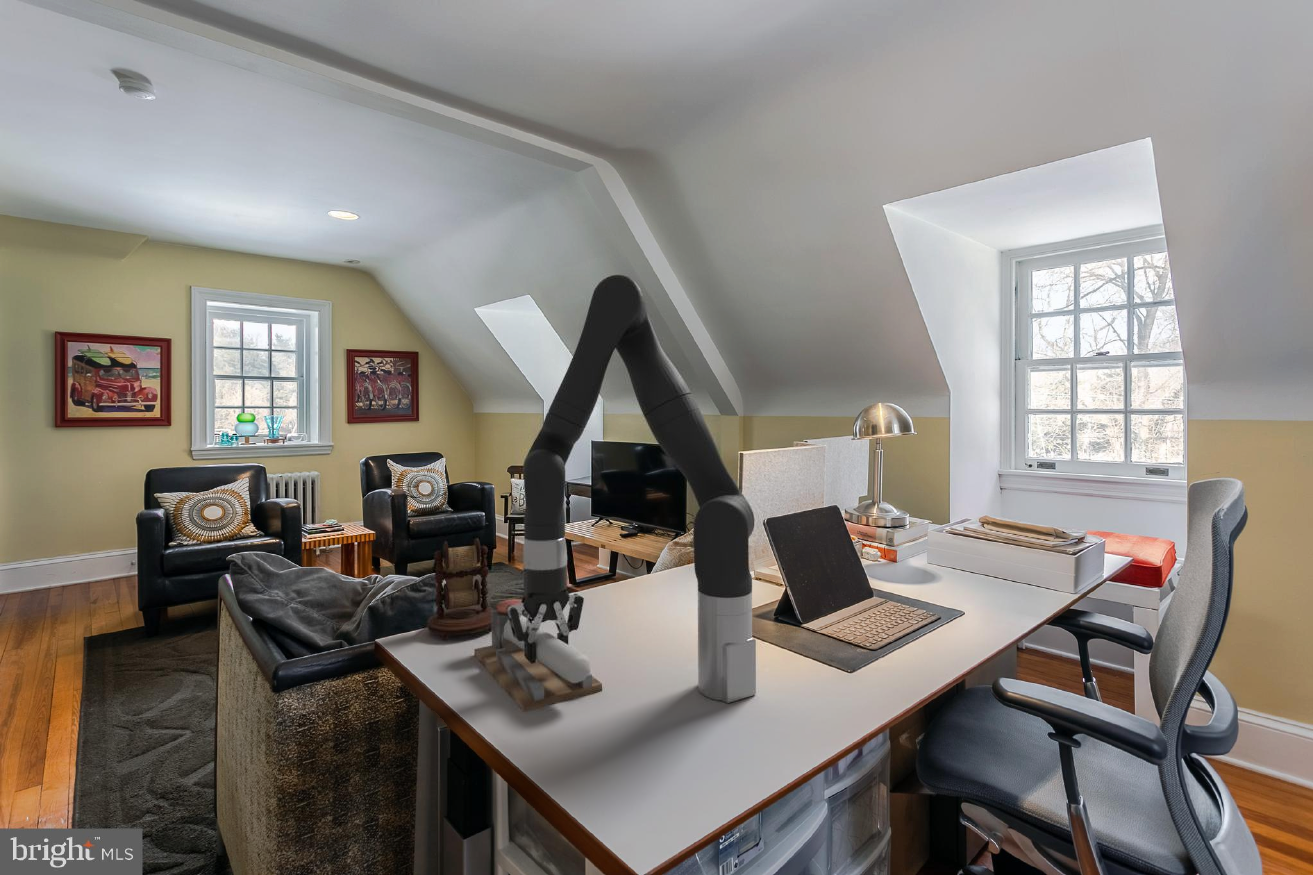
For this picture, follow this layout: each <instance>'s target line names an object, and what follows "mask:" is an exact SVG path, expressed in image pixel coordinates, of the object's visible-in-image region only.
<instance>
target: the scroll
mask: <svg viewBox="0 0 1313 875" xmlns="http://www.w3.org/2000/svg"><path fill="white" fill-rule="evenodd" d="M473 541H474V542H473V545H468V546H458V547H457V546H456V547H449V545H448V542H447V541H446V540H445V541H444V542H443V543H442V550H437V551H435V552H434V553H433V554H434V556H433V557H434V559H435V560H434V561H435V563H436V565H435V573H434V581H435V583H436V584H437V585H436V588H435V592H436V594H435V596H434V599H435V601H436V604H435V605H437V607H436V612H435V614H434V615H433V616H431V617H430V618H429V619H428V620H427V625H426V626H427V630H428V631H429V632H430V633H432V634H437V635H441V637H442V640H443V641H444V642H445V641H447V639H448V636H459V635H460V636H463V635H470V634H474V633H475V634H476V633H479V632H482V631H486V630H487V633H489V632H491V633H492V625H491V611H492V610H491V609H490V608H488V607H489V602H488V600H487V599H488V597H489V596H488V594H489V590H490V589H489V588H488V587H487V586H488V581H487V578H488V575H489V573H490V572H489V567H488V561H487V557H488V555H487V554H488V552H489V550H488V547H487V546H486V545H482V546H481V543H480V540H479V539H478V537H476V538H475V539H474V540H473ZM442 563H443V564H444V567H445V573H444V572H443V571H444V570H443V569H444V567H443V564H442ZM478 564H480V567H479V568H478V570H477V569H475V568H476V567H477V565H478ZM477 575H479V576H480V578H481V580H480V581H479V580H478V579H475V580H474V577H475V576H477ZM444 581H445V583H444ZM443 583H444V584H443Z"/></svg>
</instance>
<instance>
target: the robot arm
mask: <svg viewBox="0 0 1313 875" xmlns="http://www.w3.org/2000/svg"><path fill="white" fill-rule="evenodd" d="M584 321H585V322H584V324H583V328H582V332H581V334H580V337H579V339H578V343H577V346H576V348H575V351H574V353H573V356H572V357H571V360H570V362H569V365H568V368H567V369H566V373H565V375H564V376H563V378H562V380H561V382H560V385H559V387H558V388H557V389H558V390H557V391H556V393H555V395H554V398H553V399H552V402H551V403H550V406H549V409H548V411H547V412H546V415H545V418H544V421H543V423H542V424H543V425H542V427H541V429H540V430H539V432H538V434H537V435H536V437H535V438H534V442H533V443H532V445H531V446H530V449H529V451H528V452H527V455H526V457H525V458H524V462H523V466H522V470H523V472H522V473H523V487H524V502H525V510H524V516H523V529H524V530H523V532H524V533H523V534H524V539H523V541H524V542H523V550H522V554H523V555H522V556H523V557H522V558H523V560H522V564H523V566H522V568H523V597H522V599H521V600H522V601H521V603H519V604H516V605H514V606H512V605H508V606H507V607H506V611H507V615H508V618H509V622H510V626H511V630H512V633H513V636H514V637H515V638H516V639H517V640H518V641H524V652H525V653H524V656H525V658H526V659H527V660H528V661H529V662H530V663H531V664H532V663H536V642H534V639H535V636H536V633H537V630H539V627H540V626H541V624H542V623H545V622H547V621H553V622H554V624H555V627H556V629H557V631H558V632H557V633H556V638H558V639H559V640H561V641H562V642H564V643H566V644H567V645H569V634H570V633H572V632H573V631H577V630H578V629H579V626H580V620H581V616H582V611H583V606H584V601H585V598H584V597H583V596H581V595H580V594H578V593H574V594H569V592H568V554H567V553H568V550H567V542H566V516H565V510H564V508H565V505H564V504H565V494H566V492H565V491H566V464H567V462H568V459H569V457H570V455H571V453H572V450H573V449H574V446H575V444H576V443H577V441H579V439H580V438H581V436H582V435H583V432H584V431H585V429H586V426H587V425H588V422H589V420H590V418H591V415H592V413H593V411H594V410H595V406H596V404H597V402H598V398H599V396H600V393H601V390H602V385H603V381H604V378H605V375H606V372H607V369H608V367H609V364H610V360H611V359H612V356H613V354H614V351H615V350H616V352H617V353H618V354H619V356H620V358H621V359H622V362H623V363H624V366H625V367H626V369H627V372H628V375H629V379H630V381H631V382H630V383H631V385H632V389H633V392H634V394H635V398H636V400H637V402H638V406H639V408H640V410H641V413H642V415H643V417H644V418H645V422H646V423H647V425H648V428H649V430H650V431H651V434H652V435H653V438H655V440H656V442H657V444H658V445H659V447H660V448H661V450H662V451H663V453H665V455H666V456H667V457H668V458H669V459H670V461H671V462H672V463H673V464H674V465H675V466H676V468H677V469H678V470H679V471H680V472H681V474H682V475H683V476H684V477H685V479H686V481H687V483H688V485H689V486H690V488H691V491H692V493H693V495H694V497H695V500H696V503H697V505H698V507H699V509H698V510H697V512H696V514H695V517H694V522H693V531H692V532H693V536H692V538H693V561H694V562H693V565H694V574H695V577H696V580H697V672H698V673H697V674H698V676H697V677H698V678H697V679H698V684H697V685H698V687H697V688H698V691H699V693H700V694H702V695H703V696H705V697H706V698H710V699H713V700H717V701H723V702H725V703H727V704H729V703H733V702H736V701H739V700H741V699H745V698H749V697H751V696H755V695H756V694H757V640H756V639H755V638H754V637H753V576H752V574H751V571H750V562H749V561H750V560H749V559H750V558H749V556H750V554H749V550H750V548H749V546H750V545H749V539H750V537H751V536H752V534H753V532H754V528H755V515H754V511H753V509H752V507H751V505H750V503H749V502H748V500H747V499H746V497H745V495H744V494H743V493H742V490H741V489H740V488H739V487H738V485H737V483H736V482H735V480H734V479H733V477H732V475H731V474H730V472H729V471H728V469H727V467H726V465H725V463H724V462H723V459H722V457H721V455H720V452H719V450H718V447H717V446H716V442H715V440H714V438H713V436H712V433H711V431H710V429H709V427H708V425H707V423H706V421H705V418H704V416H703V414H702V412H701V410H700V408H699V406H698V404H697V402H696V399H695V398H694V396H693V394H692V392H691V389H690V388H689V387H688V385H687V382H685V380H684V378H683V377H682V375H681V374H680V372H679V370H678V369H677V368H676V367H675V365H674V364H673V363H672V361H671V360H670V358H669V357H668V356H667V354H666V352H665V351H664V349H663V348H662V346H661V343H660V342H659V339H658V337H657V334H656V332H655V330H654V327H653V325H652V321H651V320H650V315H649V312H648V309H647V305H646V300H645V298H644V294H643V292H642V290H641V288H640V286H639V285H638V283H637V282H636V281H635V280H634V279H632V278H631V277H629V276H626V275H624V274H623V275H622V274H613V275H609V276H607V277H606V278H603V279H602V280H601V281H600V282H599V283H598V284H597V285H596V287H595V288H594V291H593V293H592V296H591V299H590V303H589V307H588V310H587V314H586V318H585V320H584ZM567 604H568V605H567ZM566 606H569V612H568V615H567V620H566V617H565V614H564V610H565V607H566ZM523 609H525V610H526V612H527V613H528V617H527V620H526V627H525V630H524V632H523V630H522V626H521V622H520V617H521V615H522V610H523ZM540 628H541V627H540Z"/></svg>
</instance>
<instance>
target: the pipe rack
mask: <svg viewBox="0 0 1313 875" xmlns="http://www.w3.org/2000/svg"><path fill="white" fill-rule="evenodd" d="M521 601H522V599H517V598H516V599H515V598H513V599H506V600H501V601H500V602H498V603H497V604H496V609H494V610H491V625H492V631H491V645H487V646H483V647H477V648H474V651H473V652H474V656H475V657H476V659H477V660H478V661H479V660H480V661H481V662H480V661H479V662H480V663H481V664H482V665H483V667H484V668H485V667H486V668H485V669H486V670H487V671H488V672H489V673H490V674H491V676H493V678H494V679H495V680H496V681H497V683H498V684H499V685H500V686H501V688H503V689H504V690H505V692H506V693H507V694H508V695H509V696H510V697H511V698H512V699H513V701H514V702H515V704H517V705H518V706H519V708H520V709H521V710H522V711H523V712H526V711H531V710H535V709H538V708H541V707H544V706H545V705H546V706H549V705H548V704H550V705H552V703H553V704H556V702H557V703H560V702H559V701H561V702H564V700H565V701H568V700H567V699H569V700H571V698H572V699H575V698H574V697H576V698H580V697H584V696H586V695H587V694H588V695H591V694H595V693H598V692H602V691H603V683H602V682H601V681H599V680H598V679H597V678H596V677H594V676H593V675H592V673H591V672H590V673H589V674H588V676H587V677H586V678H585V679H584V680H583V681H580V682H578V683H571V682H570V681H568V680H566V679H564V678H563V677H561V676H560V675H558V674H557V673H556V672H554V671H553V670H551V669H550V668H549V667H547V666H546V665H544V664H543V663H541V662H540V661H539V660H537V659H536V663H532V664H531V663H530V662H529V661H528V660H527V659H526V658H525V656H524V653H525V652H524V650H523V649H522V648H520V647H519V646H517V645H516V644H515V643H513V642H511V641H509V640H507V639H505V638H504V626H505V624H506V623H507V621H508V619H509V618H508V615H507V611H506V607H507V606H508V605H512V606H514V605H516V604H519V603H521ZM522 616H524V617H526V618H527V617H528V613H527V612H526V610H525V609H523V610H522ZM583 695H584V696H583ZM579 696H580V697H579Z"/></svg>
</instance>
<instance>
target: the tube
mask: <svg viewBox="0 0 1313 875" xmlns="http://www.w3.org/2000/svg"><path fill="white" fill-rule="evenodd" d="M526 620H527V618H526V617H524V616H522V615H521V617H520V622H521V626H522V630H523V632H524V630H525V627H526ZM504 638H505V639H507V640H509V641H511V642H513V643H515V644H516V645H517V646H519V647H520V648H522V649H523V650H524V641H518V640H517V639H516V638H515V637H514V636H513V633H512V630H511V626H510V622H509V619H508V621H507V623H506V624H505V626H504ZM534 642H536V659H537V660H539V661H540V662H541V663H543V664H544V665H546V666H547V667H549V668H550V669H551V670H553V671H554V672H556V673H557V674H558V675H560V676H561V677H563V678H564V679H566V680H568V681H570V682H571V683H578V682H580V681H583V680H584V679H585V678H586V677H587V676H588V674H589V673H590V674H591V667H590V657H588V656H587V655H585V654H584V653H582V652H580V651H579V650H577V649H575V648H574V647H572V646H570V645H569V644H568V645H567V644H566V643H564V642H562V641H561V640H559V639H558V638H557V636H554V635H552V634H551V633H549V632H548V631H546V630H545V629H543V628H541V627H539V630H537V633H536V636H535V639H534Z"/></svg>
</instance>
